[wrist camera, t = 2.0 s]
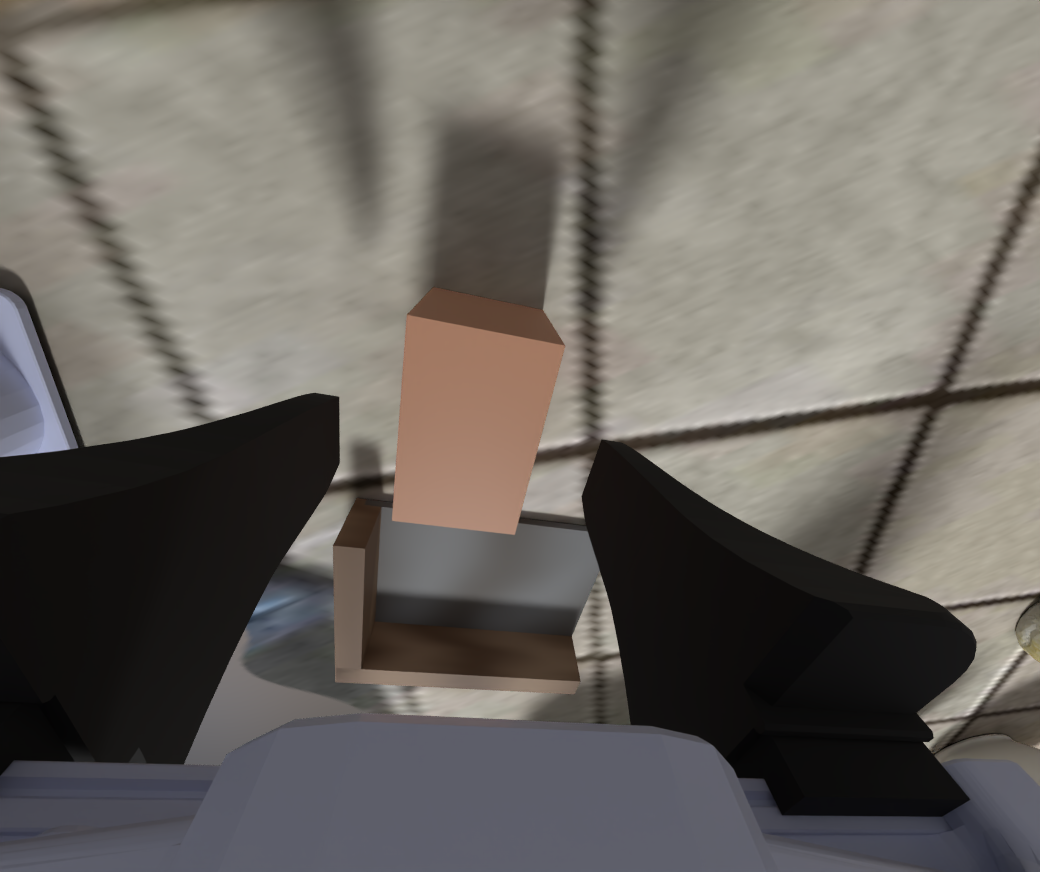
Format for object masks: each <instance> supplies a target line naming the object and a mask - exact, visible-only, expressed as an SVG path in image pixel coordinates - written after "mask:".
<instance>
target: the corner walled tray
mask: <svg viewBox="0 0 1040 872" xmlns="http://www.w3.org/2000/svg"><path fill="white" fill-rule="evenodd" d="M392 512H393V502H385V501H377V500H369V499H360V498H356V500H355V502H354V504H353V506H352V508H351V510H350V512H349V514H348V516H347V518H346V521H345V523H344V525H343V527H342V529H341V531H340V533H339V535H338V537H337V539H336V541H335V543H334V545H333V570H334V629H335V682H342V683H362V684H382V685H401V686H421V687H441V688H461V689H480V690H500V691H520V692H539V693H559V694H575V692H576V690H577V688H578V686H579V684H580V682H581V681H580V676H579V671H578V666H577V661H576V656H575V651H574V646H573V640H572V634H573V632H574V630H575V627H576V625H577V622H578V620H579V618H580V615H581V613H582V611H583V608H584V606H585V604H586V601H587V599H588V596H589V594H590V592H591V589H592V587H593V585H594V582H595V580H596V578H597V575H598V573H599V571H600V569H599V566H598V563H597V560H596V557H595V554H594V551H593V547H592V544H591V541H590V537H589V534H588V531H587V527H586V526H582V525H574V524H565V523H557V522H549V521H541V520H533V519H524V518H519V521H518V525H517V528H516V532H515V535H512V534H503V533H494V532H485V531H477V530H468V529H459V528H450V527H442V526H433V525H424V524H415V523H406V522H398V521H392Z"/></svg>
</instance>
